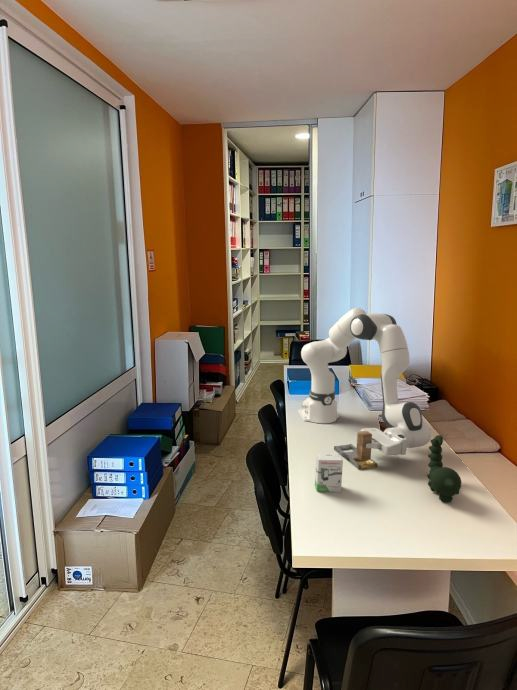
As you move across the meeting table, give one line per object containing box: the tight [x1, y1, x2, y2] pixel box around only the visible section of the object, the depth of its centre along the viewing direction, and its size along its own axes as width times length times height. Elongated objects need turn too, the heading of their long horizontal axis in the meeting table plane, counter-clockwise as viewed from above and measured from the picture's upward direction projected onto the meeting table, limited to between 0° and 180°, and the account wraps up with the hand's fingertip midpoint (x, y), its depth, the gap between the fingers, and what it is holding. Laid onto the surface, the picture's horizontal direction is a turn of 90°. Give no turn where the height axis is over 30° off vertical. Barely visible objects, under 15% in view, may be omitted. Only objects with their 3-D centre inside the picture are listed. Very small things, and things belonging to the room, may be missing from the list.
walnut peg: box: [356, 430, 372, 460], centre depth 192 cm, size 4×4×10 cm
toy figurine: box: [426, 434, 462, 503], centre depth 170 cm, size 9×19×25 cm
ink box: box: [314, 453, 344, 493], centre depth 172 cm, size 9×5×12 cm, turn 91°
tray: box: [333, 443, 378, 470], centre depth 199 cm, size 20×8×2 cm, turn 19°
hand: (362, 443), depth 191 cm, fingers closed on walnut peg, 4 cm apart
